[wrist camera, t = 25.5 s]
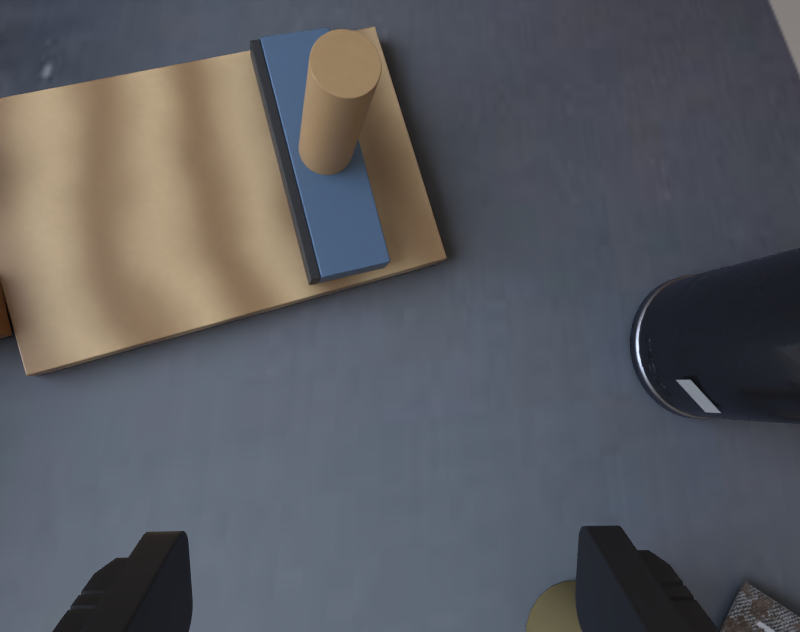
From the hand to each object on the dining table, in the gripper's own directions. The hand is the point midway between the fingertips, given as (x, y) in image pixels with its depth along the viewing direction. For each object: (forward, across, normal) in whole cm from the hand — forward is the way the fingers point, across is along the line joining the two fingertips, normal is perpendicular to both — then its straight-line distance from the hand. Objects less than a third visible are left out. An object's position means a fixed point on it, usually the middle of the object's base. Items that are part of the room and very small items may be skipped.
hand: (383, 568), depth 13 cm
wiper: (+28, +3, -9) cm, 29 cm away
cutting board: (+28, +10, -7) cm, 30 cm away
